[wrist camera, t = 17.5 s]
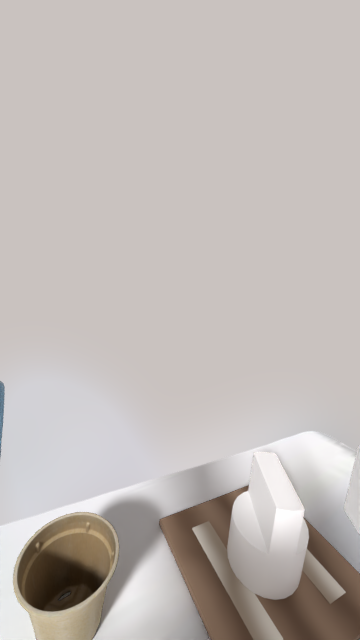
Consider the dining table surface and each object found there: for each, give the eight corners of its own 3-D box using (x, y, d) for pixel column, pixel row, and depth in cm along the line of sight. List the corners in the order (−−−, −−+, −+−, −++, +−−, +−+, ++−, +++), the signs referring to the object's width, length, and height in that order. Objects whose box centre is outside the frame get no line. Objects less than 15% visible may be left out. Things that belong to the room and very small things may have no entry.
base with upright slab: (221, 523, 40) (230, 450, 37) (283, 526, 40) (297, 453, 38) (235, 598, 31) (248, 509, 29) (314, 600, 32) (334, 512, 29)
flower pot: (135, 605, 31) (138, 541, 29) (60, 722, 23) (57, 645, 21) (77, 555, 35) (76, 497, 33) (-3, 638, 27) (-9, 569, 25)
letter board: (253, 734, 23) (254, 727, 23) (159, 524, 40) (159, 519, 40) (389, 611, 32) (391, 605, 32) (264, 482, 49) (265, 478, 49)
